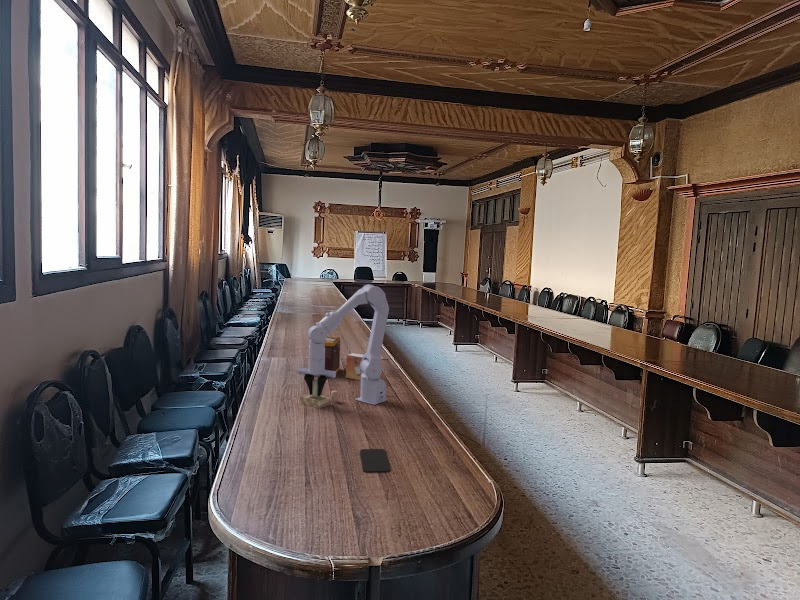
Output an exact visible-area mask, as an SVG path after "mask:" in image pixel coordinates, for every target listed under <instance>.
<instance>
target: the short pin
mask: <svg viewBox="0 0 800 600" xmlns="http://www.w3.org/2000/svg"><path fill="white" fill-rule="evenodd" d="M330 398H331V404H332V403H333V404H336V403H338V402H339V391H338V390H331V392H330Z"/></svg>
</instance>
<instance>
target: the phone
mask: <svg viewBox="0 0 800 600" xmlns="http://www.w3.org/2000/svg"><path fill="white" fill-rule="evenodd" d="M359 455H360V461H361V466H362V472H363V473H366V474H367V473H369V474H370V473H371V474H372V473H389V472H391V467H390V463H389V460H388V456H387V453H386V450H385V449H384V448H362V449H360V450H359Z"/></svg>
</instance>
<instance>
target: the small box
mask: <svg viewBox="0 0 800 600" xmlns="http://www.w3.org/2000/svg"><path fill="white" fill-rule="evenodd" d="M363 358H364V354H361V353H355V352H352V353H348V354H346V359H345V360H346V361H345V362H346V363H345V364H346V365H345V366H346V367H345V378H346V379H351V380H356V381H360V382H361V375H362V371H361V370H360V363H361V361H362V360H363Z"/></svg>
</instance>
